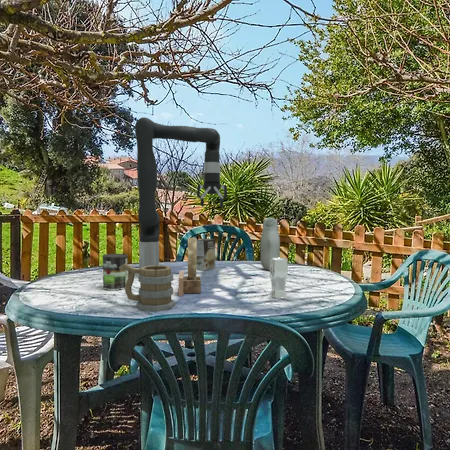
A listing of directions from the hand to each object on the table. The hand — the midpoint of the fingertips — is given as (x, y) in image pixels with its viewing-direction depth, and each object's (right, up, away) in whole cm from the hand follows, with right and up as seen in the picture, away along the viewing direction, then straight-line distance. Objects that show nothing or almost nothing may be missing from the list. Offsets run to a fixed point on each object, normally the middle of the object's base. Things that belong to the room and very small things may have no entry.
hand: (212, 206), depth 199 cm
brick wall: (-12, -36, -26) cm, 46 cm away
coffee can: (-40, -36, -20) cm, 57 cm away
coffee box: (-4, -33, +27) cm, 42 cm away
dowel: (-7, -36, -25) cm, 44 cm away
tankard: (-22, -38, -49) cm, 65 cm away
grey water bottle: (+30, -33, +25) cm, 51 cm away
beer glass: (+27, -37, -34) cm, 57 cm away
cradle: (-7, -36, -25) cm, 45 cm away
